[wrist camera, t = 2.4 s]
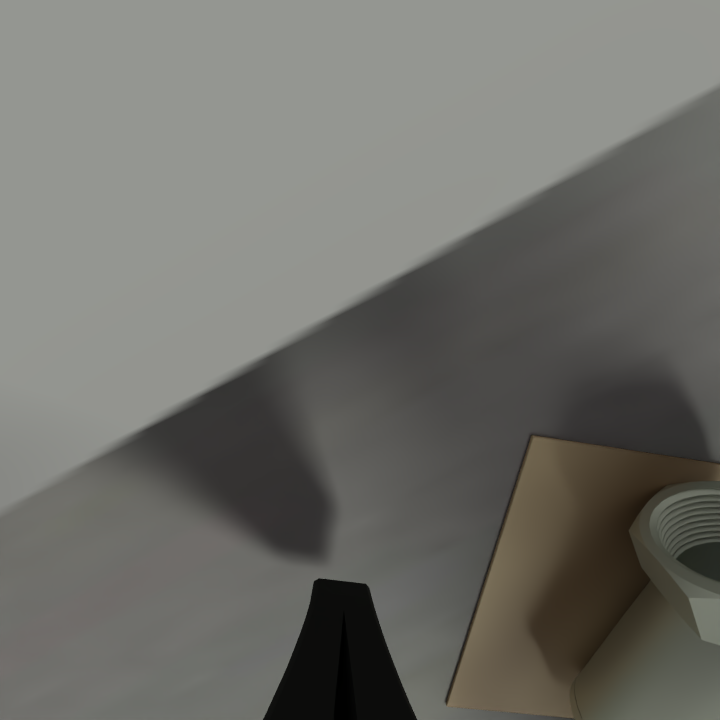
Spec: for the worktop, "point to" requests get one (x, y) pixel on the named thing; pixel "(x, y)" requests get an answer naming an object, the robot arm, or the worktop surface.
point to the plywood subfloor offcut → (560, 572)
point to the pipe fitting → (664, 619)
